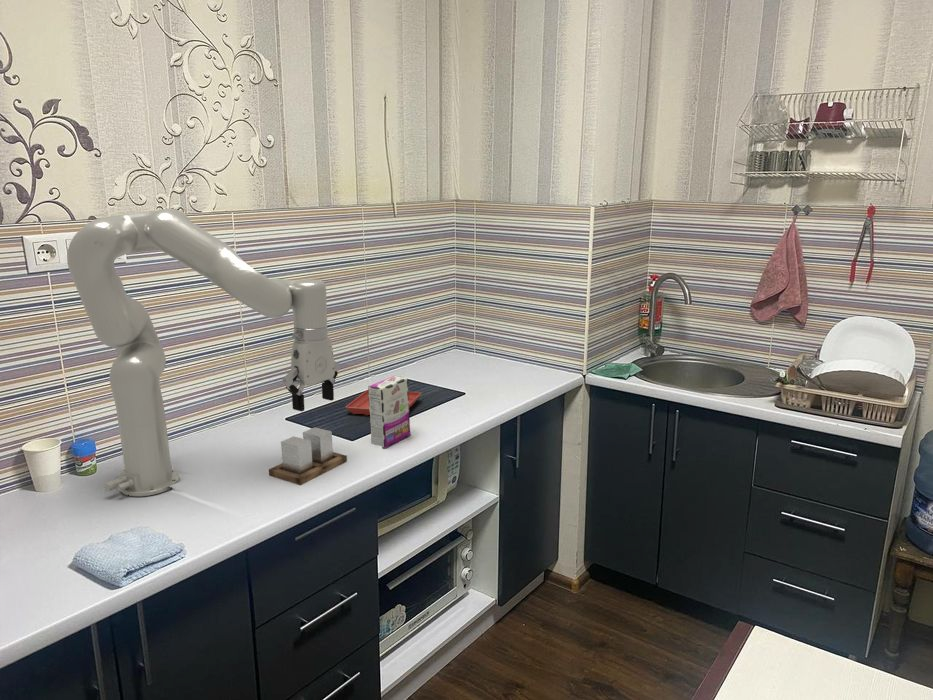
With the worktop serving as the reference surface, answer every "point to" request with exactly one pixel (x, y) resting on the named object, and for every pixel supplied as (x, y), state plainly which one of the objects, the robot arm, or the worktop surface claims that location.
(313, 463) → the wooden divided tray
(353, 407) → the plant saucer
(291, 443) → the block
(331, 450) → the billet
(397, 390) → the candy bar box
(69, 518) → the worktop surface
